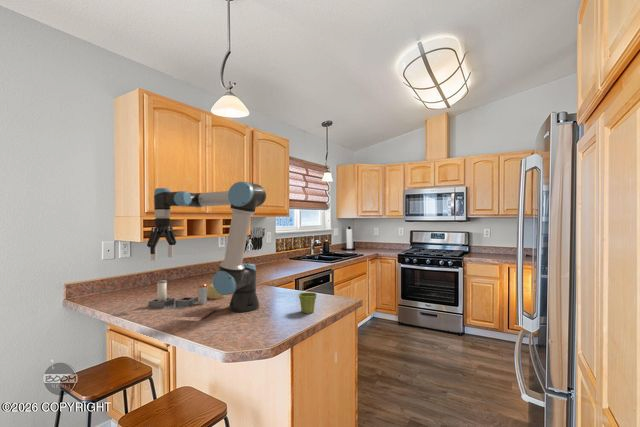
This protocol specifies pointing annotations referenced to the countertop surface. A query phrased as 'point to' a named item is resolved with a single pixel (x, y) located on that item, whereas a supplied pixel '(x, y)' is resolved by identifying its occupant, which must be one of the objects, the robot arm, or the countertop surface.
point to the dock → (174, 303)
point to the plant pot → (307, 301)
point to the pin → (202, 294)
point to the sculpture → (213, 293)
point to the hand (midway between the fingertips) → (162, 258)
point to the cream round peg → (162, 290)
